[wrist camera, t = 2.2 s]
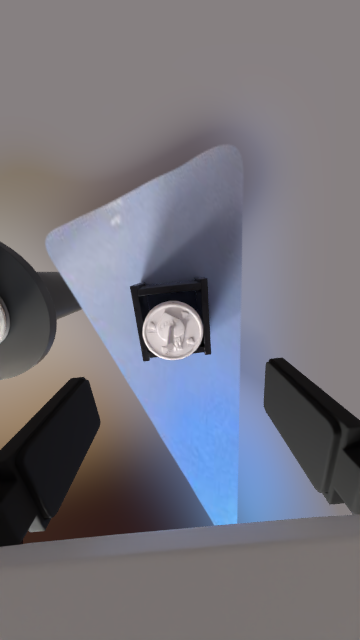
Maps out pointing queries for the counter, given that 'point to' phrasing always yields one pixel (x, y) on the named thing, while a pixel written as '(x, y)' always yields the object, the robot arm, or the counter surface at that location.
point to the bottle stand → (199, 285)
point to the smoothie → (172, 330)
